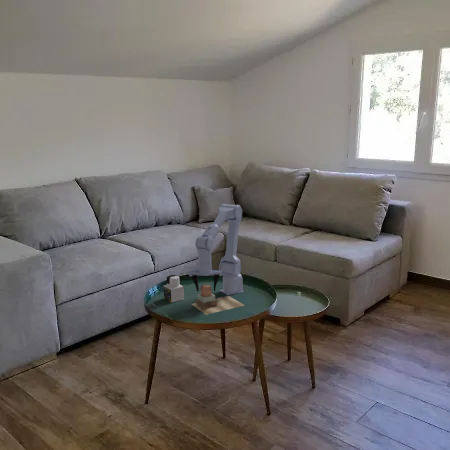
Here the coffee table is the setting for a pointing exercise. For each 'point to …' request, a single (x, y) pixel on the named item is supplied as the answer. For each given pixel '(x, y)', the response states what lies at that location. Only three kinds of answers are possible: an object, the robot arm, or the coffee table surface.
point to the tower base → (206, 304)
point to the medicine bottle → (173, 289)
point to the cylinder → (205, 290)
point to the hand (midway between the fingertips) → (206, 290)
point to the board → (220, 305)
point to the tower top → (206, 298)
